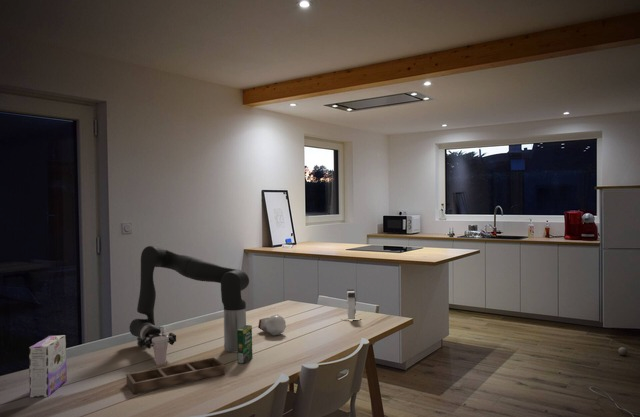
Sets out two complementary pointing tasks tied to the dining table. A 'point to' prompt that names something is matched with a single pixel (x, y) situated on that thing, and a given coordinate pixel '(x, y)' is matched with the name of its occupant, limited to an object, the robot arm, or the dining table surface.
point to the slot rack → (174, 375)
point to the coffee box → (244, 344)
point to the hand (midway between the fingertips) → (161, 344)
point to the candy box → (47, 365)
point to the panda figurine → (351, 303)
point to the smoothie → (160, 348)
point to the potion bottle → (273, 324)
